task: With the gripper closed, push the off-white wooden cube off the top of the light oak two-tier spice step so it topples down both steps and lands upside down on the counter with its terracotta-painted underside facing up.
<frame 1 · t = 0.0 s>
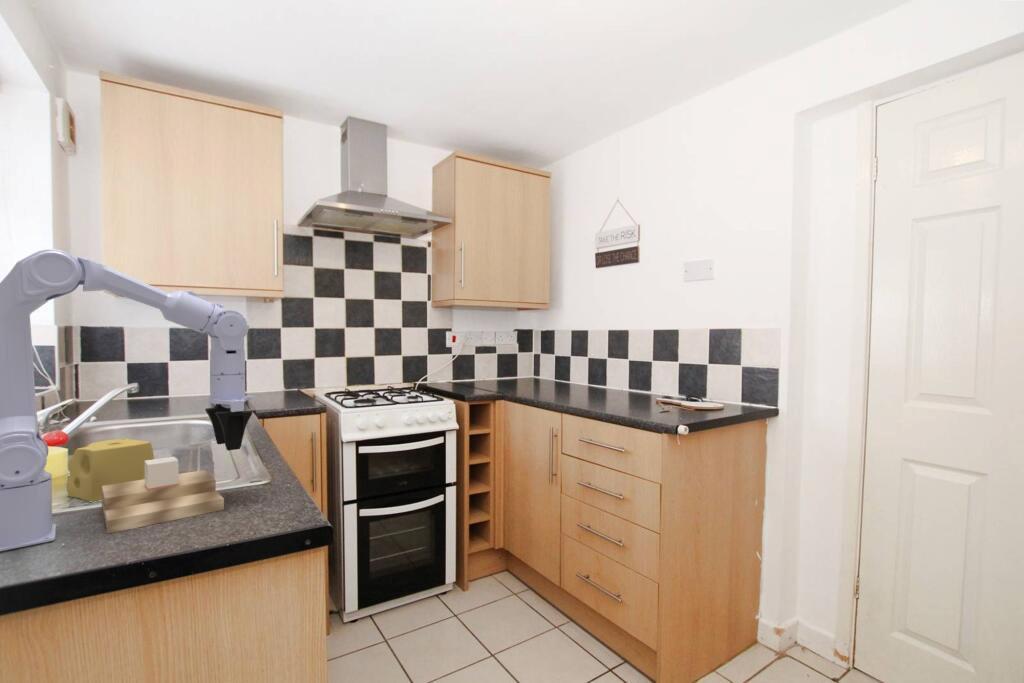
hand: (228, 446, 93), 10 cm above the countertop, tool pointing down, fingers open, 7 cm apart
spice step: (162, 508, 88), on the countertop
white cube: (161, 485, 89), point 4 cm above the countertop, touching spice step
cheese: (112, 494, 99), on the countertop
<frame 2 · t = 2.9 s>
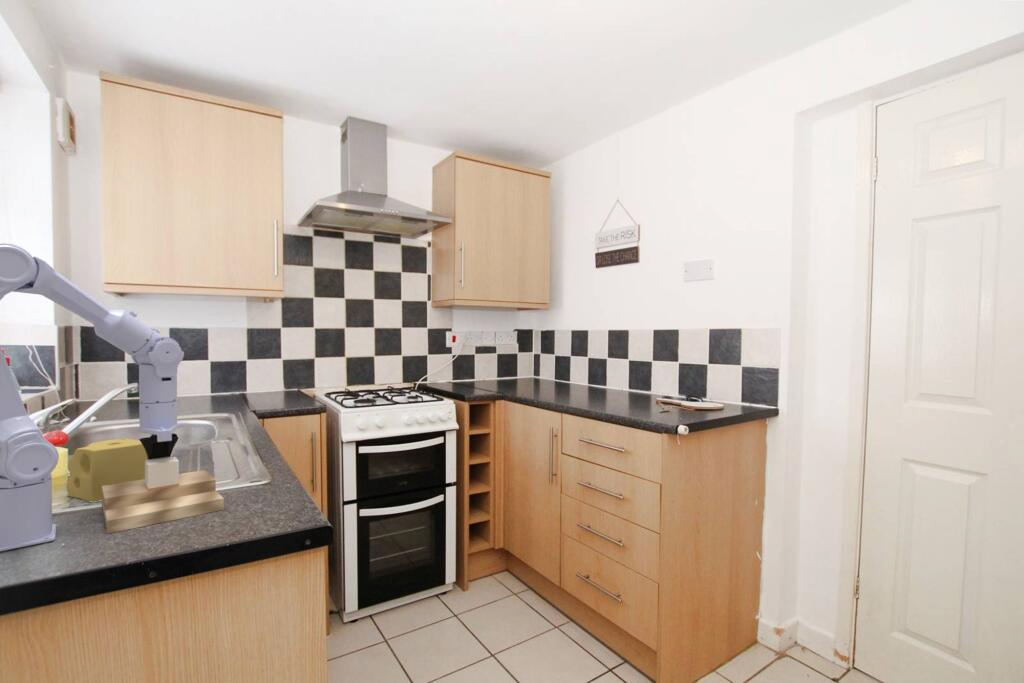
hand: (159, 475, 91), 5 cm above the countertop, tool pointing down, fingers closed
white cube: (162, 485, 89), point 4 cm above the countertop, touching gripper, spice step
everything else where it was.
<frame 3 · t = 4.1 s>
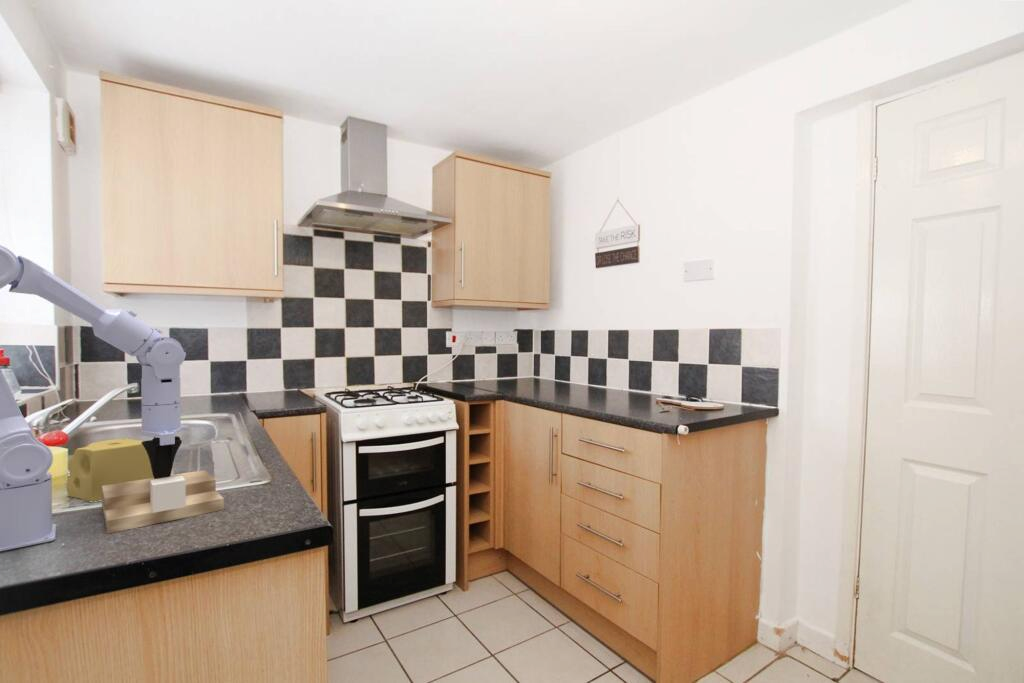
hand: (162, 479, 88), 5 cm above the countertop, tool pointing down, fingers closed
white cube: (166, 490, 85), point 4 cm above the countertop, tilted 90°, touching spice step
everything else where it was.
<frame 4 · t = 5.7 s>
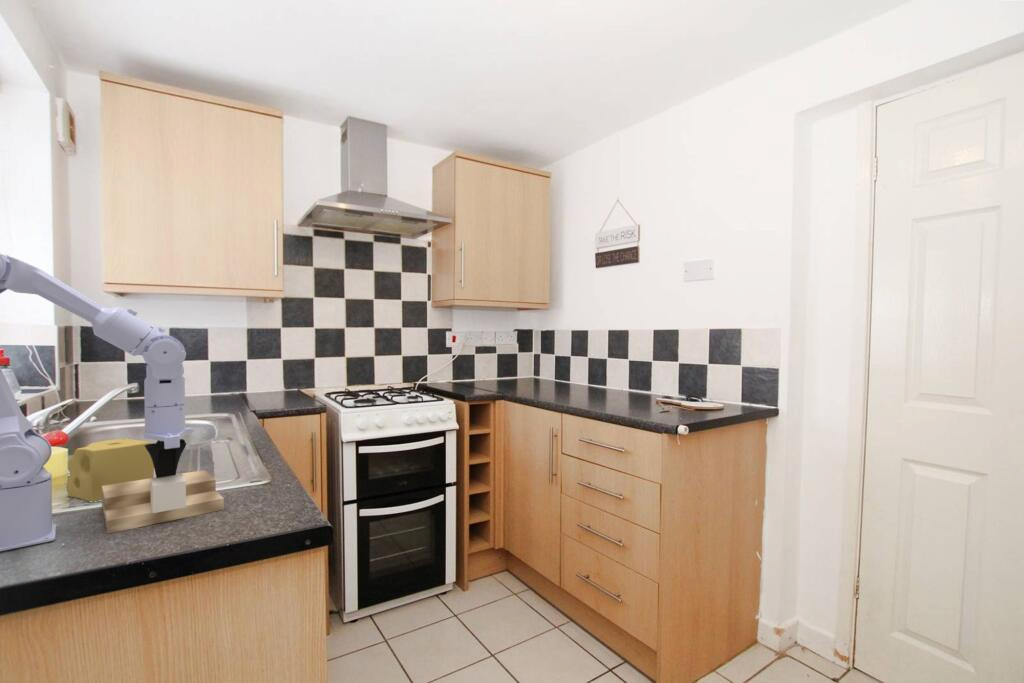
hand: (166, 483, 85), 5 cm above the countertop, tool pointing down, fingers closed, pressing on white cube
white cube: (166, 489, 85), point 4 cm above the countertop, tilted 94°, touching gripper, spice step
everything else where it was.
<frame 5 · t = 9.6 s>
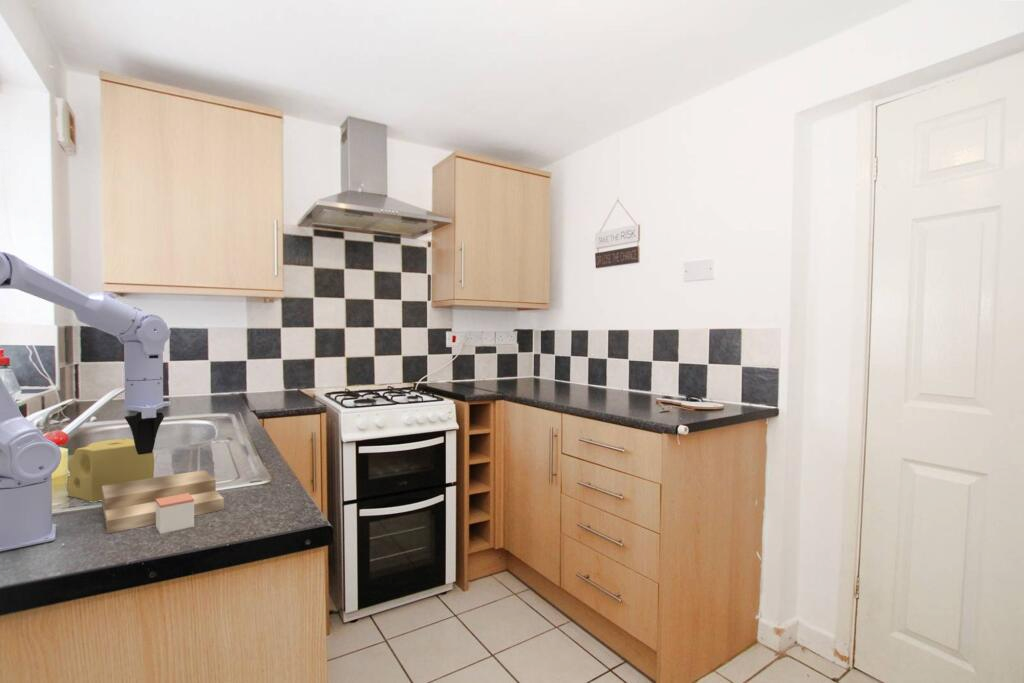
hand: (144, 453, 91), 9 cm above the countertop, tool pointing down, fingers closed
white cube: (174, 499, 80), point 4 cm above the countertop, tilted 180°
everything else where it was.
at the end: white cube tilted 180°; white cube inside the target area (0.6 cm from its centre), point 4.4 cm above the countertop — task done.
